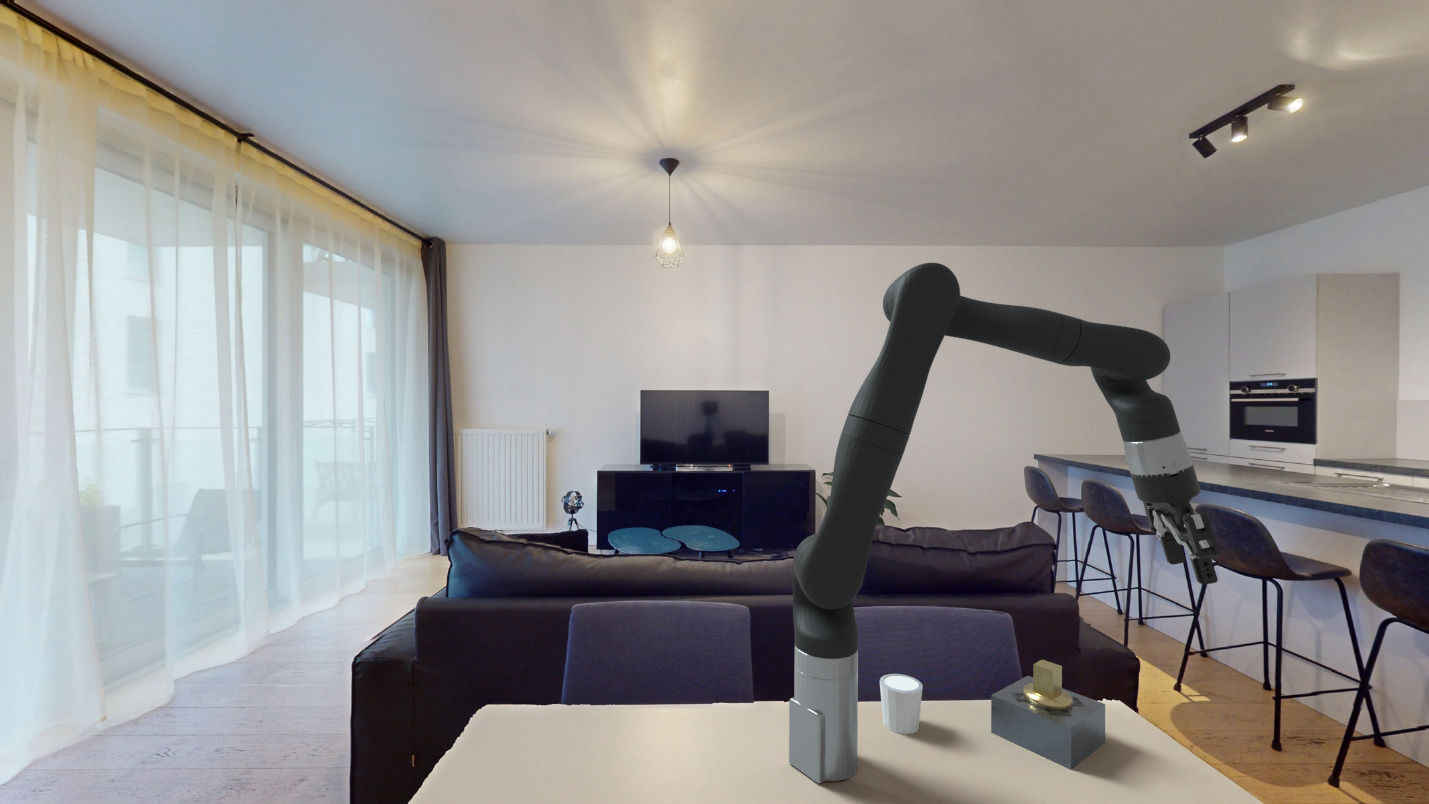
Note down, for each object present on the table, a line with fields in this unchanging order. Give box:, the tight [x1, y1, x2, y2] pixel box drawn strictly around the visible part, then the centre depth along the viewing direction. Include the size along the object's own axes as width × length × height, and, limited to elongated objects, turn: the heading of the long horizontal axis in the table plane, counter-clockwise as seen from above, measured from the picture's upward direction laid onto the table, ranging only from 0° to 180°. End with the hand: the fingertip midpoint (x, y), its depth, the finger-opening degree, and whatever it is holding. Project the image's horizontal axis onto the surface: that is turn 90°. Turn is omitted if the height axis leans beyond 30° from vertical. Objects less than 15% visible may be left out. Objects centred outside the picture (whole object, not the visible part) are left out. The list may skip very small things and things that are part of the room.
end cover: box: [1024, 659, 1072, 711], centre depth 94 cm, size 7×7×9 cm
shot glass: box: [879, 673, 924, 735], centre depth 98 cm, size 7×7×7 cm
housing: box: [990, 675, 1106, 770], centre depth 94 cm, size 12×12×6 cm
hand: (1191, 572), depth 86 cm, fingers open, 8 cm apart
